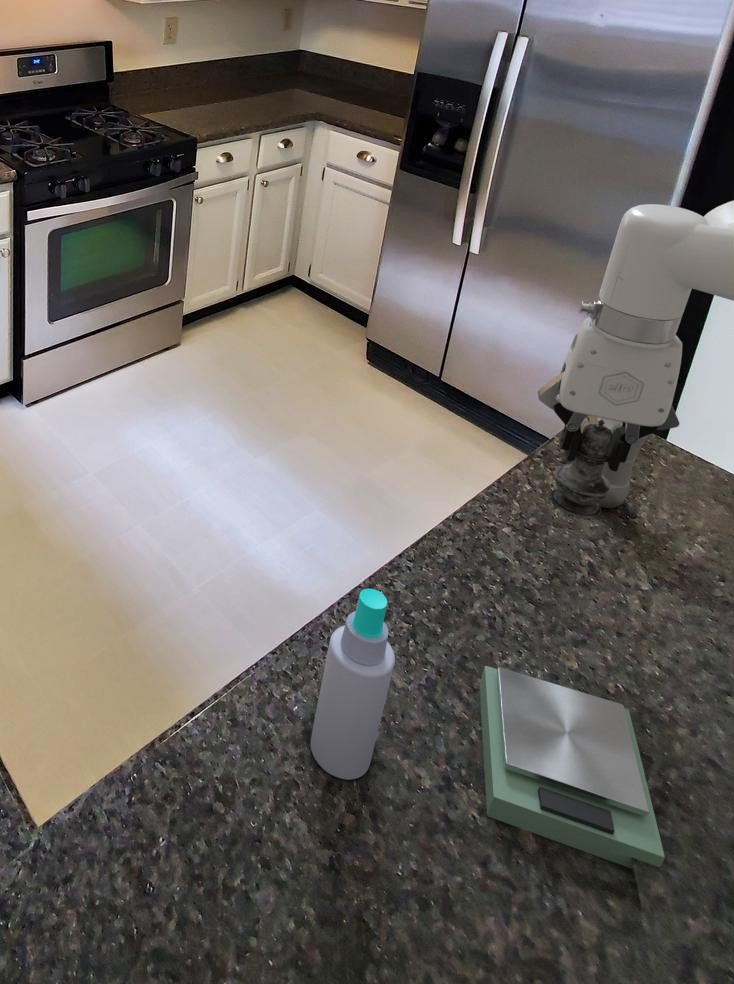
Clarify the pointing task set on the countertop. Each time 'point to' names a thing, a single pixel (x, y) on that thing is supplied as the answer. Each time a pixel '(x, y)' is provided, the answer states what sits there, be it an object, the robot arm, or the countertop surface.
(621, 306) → the robot arm
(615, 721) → the scale platform
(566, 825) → the scale
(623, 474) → the plastic bottle
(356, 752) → the spray bottle
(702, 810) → the countertop surface
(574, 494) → the grey chess piece
